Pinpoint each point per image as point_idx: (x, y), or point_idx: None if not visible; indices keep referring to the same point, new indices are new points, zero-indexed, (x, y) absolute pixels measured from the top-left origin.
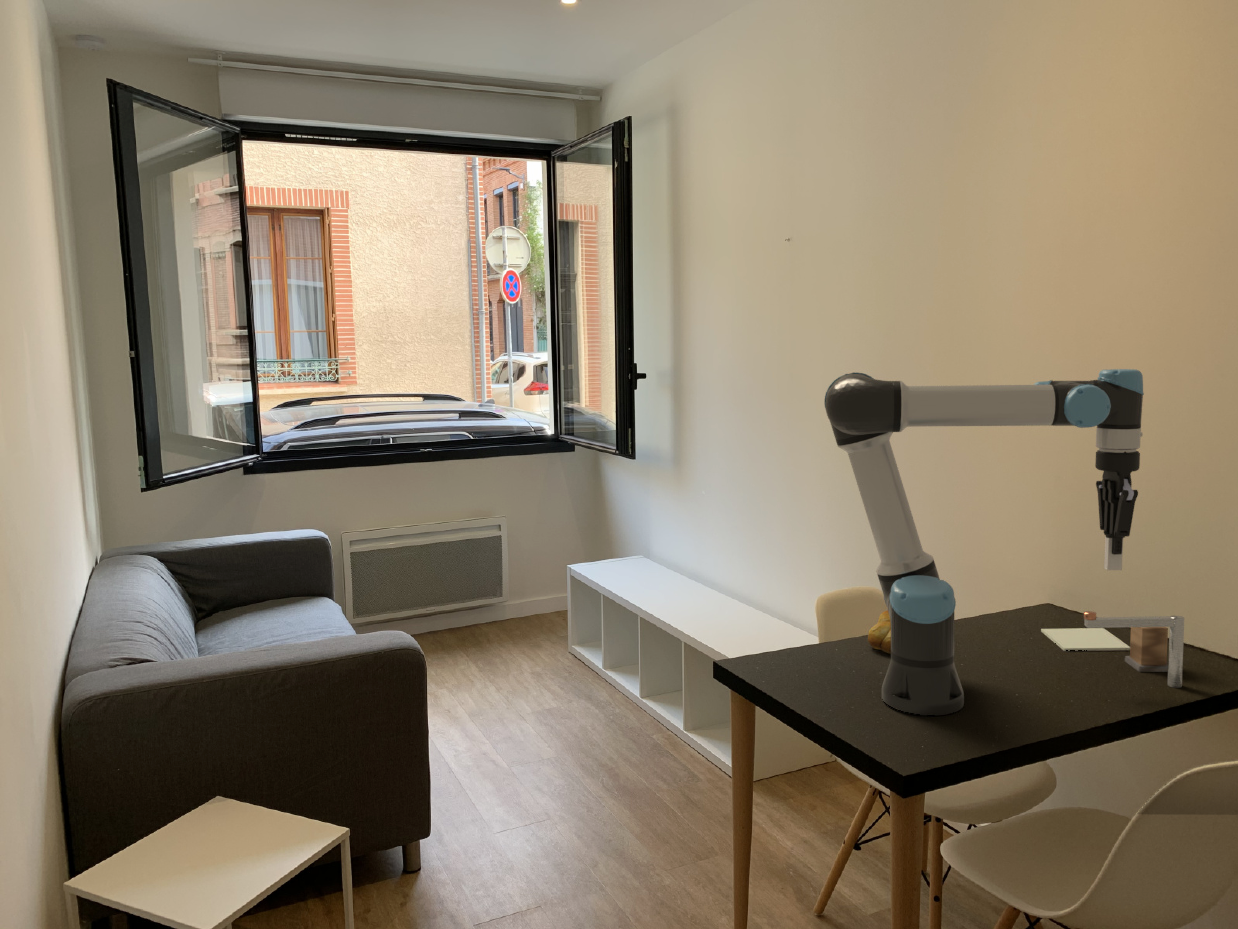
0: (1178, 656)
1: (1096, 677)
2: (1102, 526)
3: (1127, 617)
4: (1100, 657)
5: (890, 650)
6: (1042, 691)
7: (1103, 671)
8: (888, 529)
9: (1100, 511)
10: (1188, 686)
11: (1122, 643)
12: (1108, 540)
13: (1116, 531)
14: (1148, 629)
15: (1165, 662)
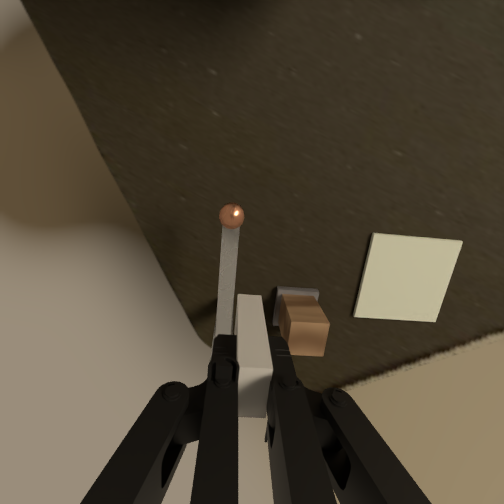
0: (215, 322)
1: (266, 225)
2: (326, 404)
3: (230, 285)
4: (337, 267)
5: None
6: (221, 120)
7: (286, 245)
8: None
9: (398, 491)
10: None
11: (371, 315)
12: (239, 358)
13: (154, 404)
14: (289, 328)
15: (278, 322)
